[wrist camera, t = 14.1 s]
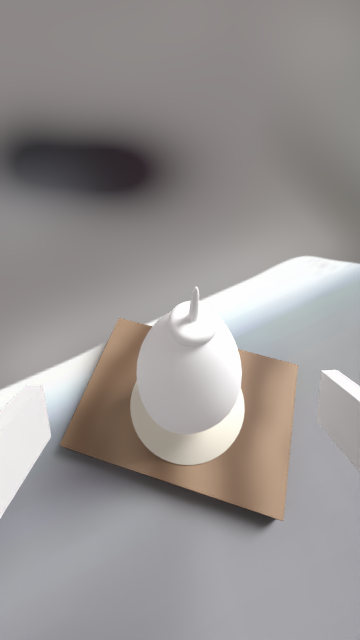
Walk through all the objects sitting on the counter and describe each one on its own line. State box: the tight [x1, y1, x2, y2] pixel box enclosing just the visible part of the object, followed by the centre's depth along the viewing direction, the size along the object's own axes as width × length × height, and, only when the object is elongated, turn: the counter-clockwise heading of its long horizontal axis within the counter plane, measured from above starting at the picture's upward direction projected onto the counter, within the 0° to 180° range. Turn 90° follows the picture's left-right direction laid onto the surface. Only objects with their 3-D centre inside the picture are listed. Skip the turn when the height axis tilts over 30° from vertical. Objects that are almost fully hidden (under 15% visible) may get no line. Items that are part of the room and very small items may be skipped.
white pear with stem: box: [136, 287, 242, 434], centre depth 21 cm, size 8×8×18 cm
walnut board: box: [60, 318, 298, 521], centre depth 29 cm, size 20×14×2 cm
